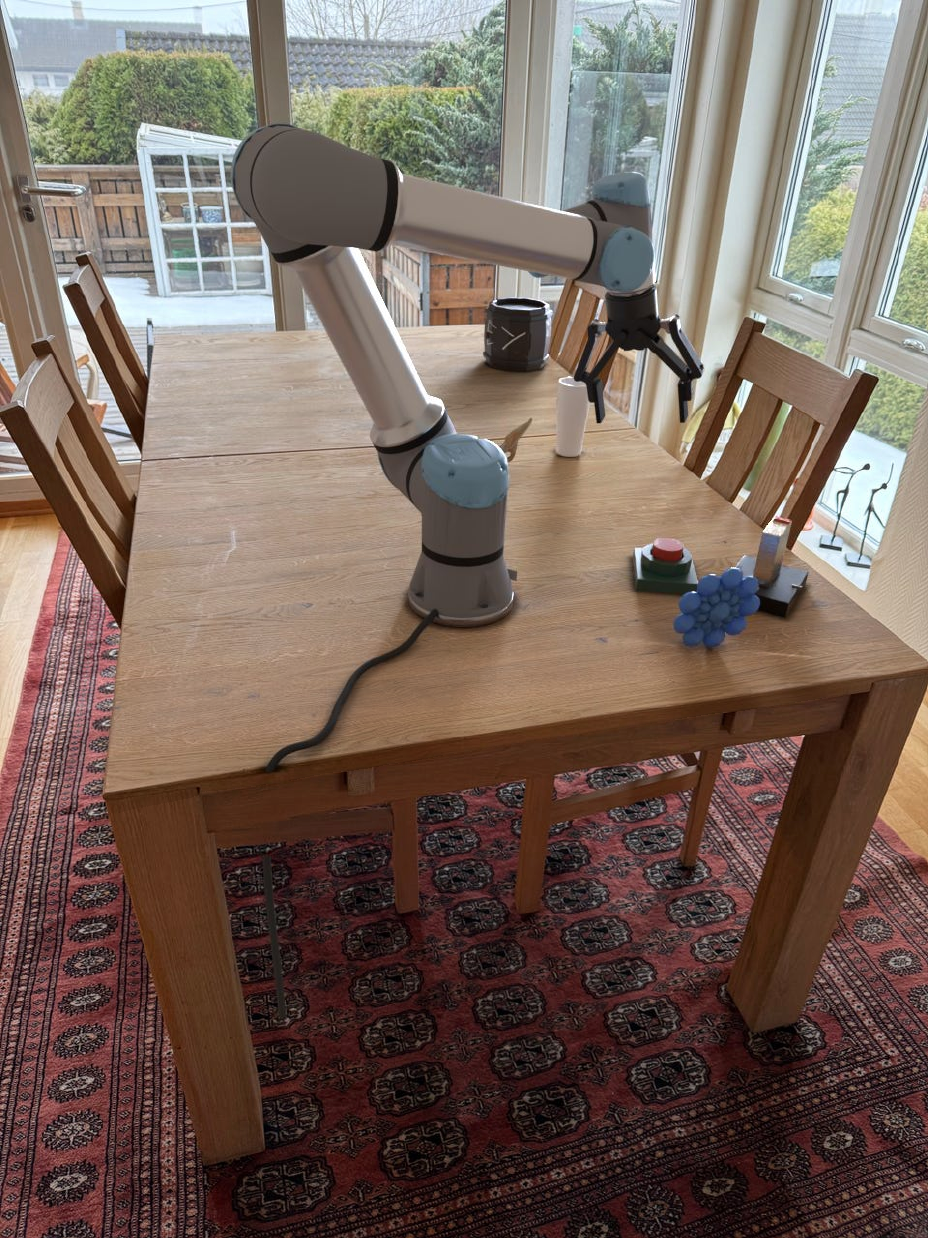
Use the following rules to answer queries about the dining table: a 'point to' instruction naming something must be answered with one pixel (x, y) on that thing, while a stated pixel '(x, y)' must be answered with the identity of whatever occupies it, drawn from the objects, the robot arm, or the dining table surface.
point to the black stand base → (776, 587)
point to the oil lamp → (514, 439)
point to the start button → (667, 549)
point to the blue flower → (717, 608)
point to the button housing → (663, 572)
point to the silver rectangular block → (771, 551)
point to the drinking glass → (570, 416)
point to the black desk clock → (517, 334)
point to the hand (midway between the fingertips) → (641, 419)
